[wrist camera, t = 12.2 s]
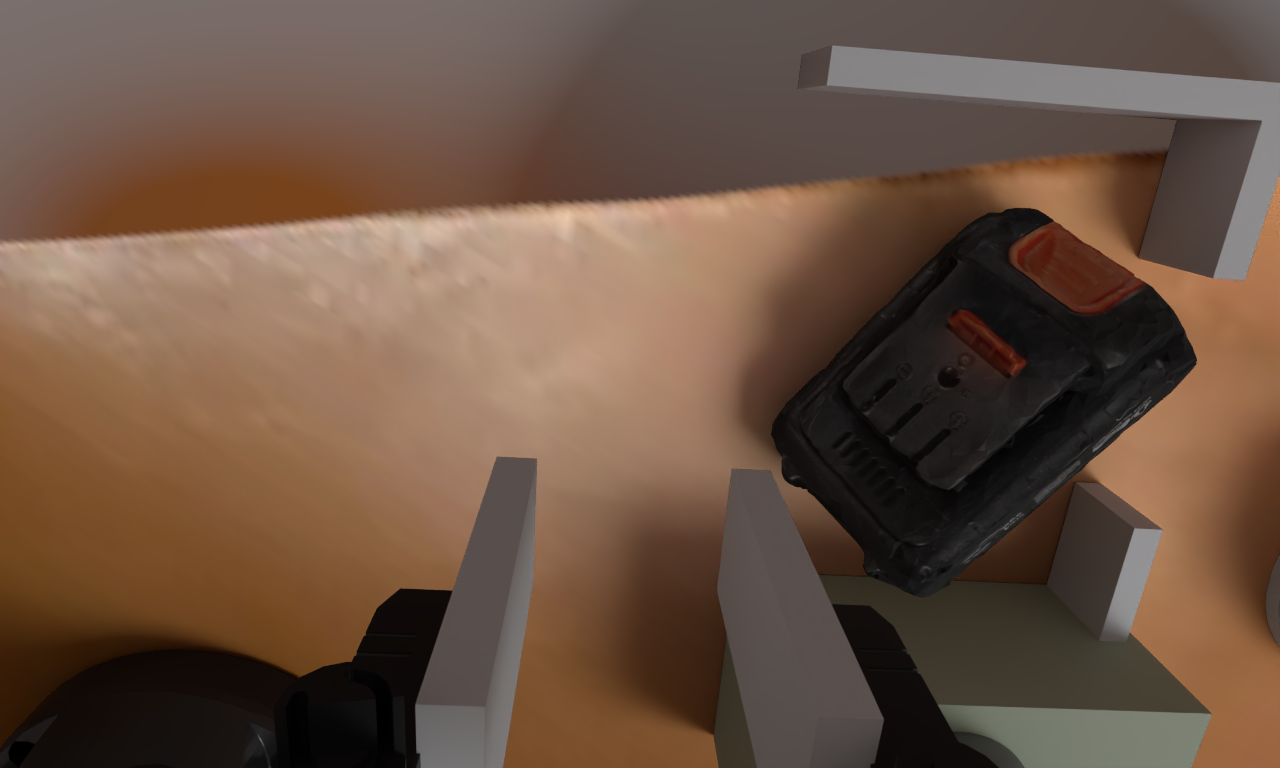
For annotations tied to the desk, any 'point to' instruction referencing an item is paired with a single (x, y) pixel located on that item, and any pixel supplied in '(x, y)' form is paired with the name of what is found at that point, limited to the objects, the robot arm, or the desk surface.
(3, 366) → the desk surface
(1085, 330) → the battery
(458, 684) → the robot arm
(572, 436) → the desk surface
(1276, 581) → the engine component
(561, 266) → the desk surface
